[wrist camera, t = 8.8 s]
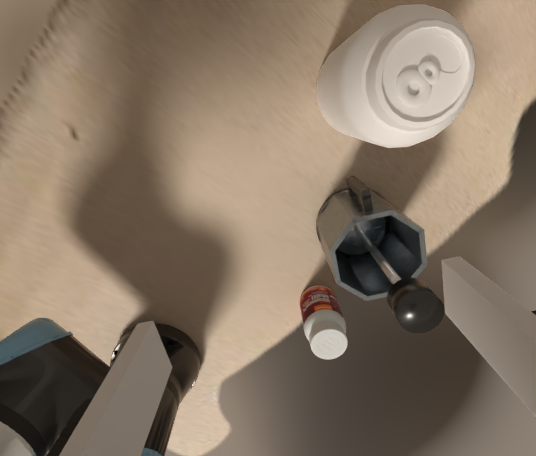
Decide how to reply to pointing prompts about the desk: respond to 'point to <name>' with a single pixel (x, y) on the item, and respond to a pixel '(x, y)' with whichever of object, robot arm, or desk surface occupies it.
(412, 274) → the grey octagonal container
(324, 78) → the can
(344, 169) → the desk surface
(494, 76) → the desk surface
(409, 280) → the plunger
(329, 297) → the pill bottle
